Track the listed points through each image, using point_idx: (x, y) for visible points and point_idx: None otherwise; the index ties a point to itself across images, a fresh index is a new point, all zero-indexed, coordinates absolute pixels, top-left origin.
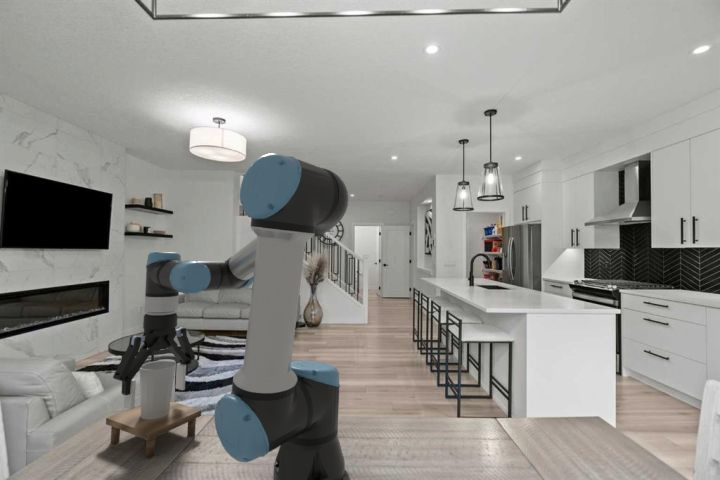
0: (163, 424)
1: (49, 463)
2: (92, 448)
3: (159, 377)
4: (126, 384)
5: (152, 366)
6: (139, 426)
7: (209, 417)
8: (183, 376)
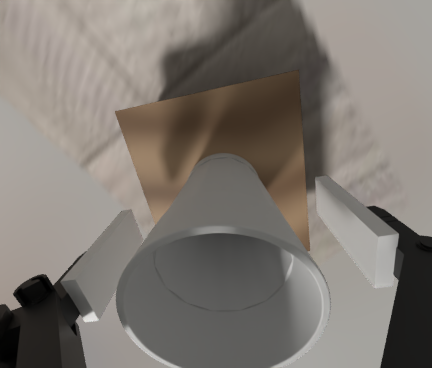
0: (242, 100)
1: None
2: (314, 215)
3: (253, 205)
4: (411, 234)
5: (216, 346)
6: (290, 141)
7: (93, 168)
8: (105, 240)
